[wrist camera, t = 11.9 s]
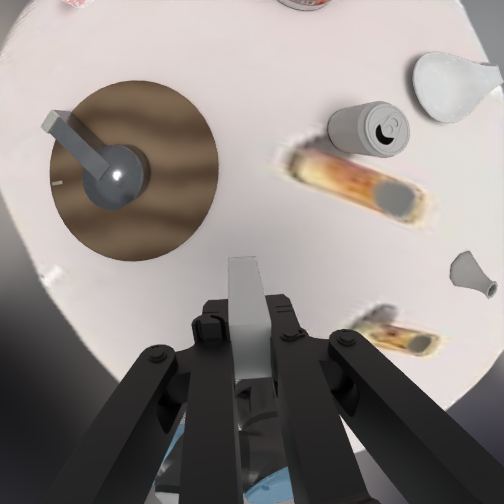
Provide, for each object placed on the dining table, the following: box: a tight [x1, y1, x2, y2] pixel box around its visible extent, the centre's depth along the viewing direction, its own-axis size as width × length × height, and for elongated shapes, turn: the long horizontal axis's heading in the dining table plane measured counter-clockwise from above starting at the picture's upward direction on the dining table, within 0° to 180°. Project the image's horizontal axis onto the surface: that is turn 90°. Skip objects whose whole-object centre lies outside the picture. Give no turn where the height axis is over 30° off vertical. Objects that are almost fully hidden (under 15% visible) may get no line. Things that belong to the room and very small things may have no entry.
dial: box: [41, 110, 151, 210], centre depth 32 cm, size 17×8×6 cm, turn 45°
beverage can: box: [328, 101, 410, 158], centre depth 32 cm, size 6×6×12 cm
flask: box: [450, 251, 498, 299], centre depth 43 cm, size 7×7×10 cm
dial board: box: [50, 81, 218, 261], centre depth 37 cm, size 26×26×1 cm
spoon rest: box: [413, 52, 503, 123], centre depth 31 cm, size 24×12×7 cm, turn 117°
